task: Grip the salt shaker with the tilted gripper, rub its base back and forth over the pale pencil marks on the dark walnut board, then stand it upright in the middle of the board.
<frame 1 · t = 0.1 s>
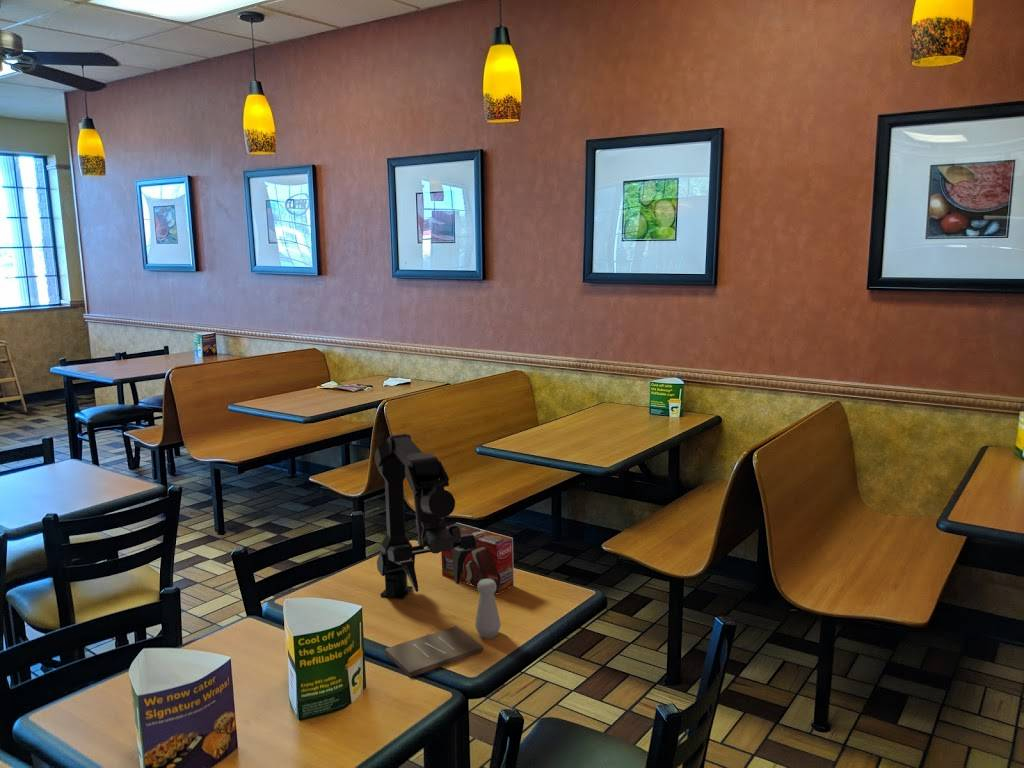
hand: (437, 587, 169), 15 cm above the table, tool pointing down, fingers open, 9 cm apart
ice cream box: (477, 581, 209), on the table
salt shaker: (488, 635, 179), on the table
marked board: (434, 652, 172), on the table
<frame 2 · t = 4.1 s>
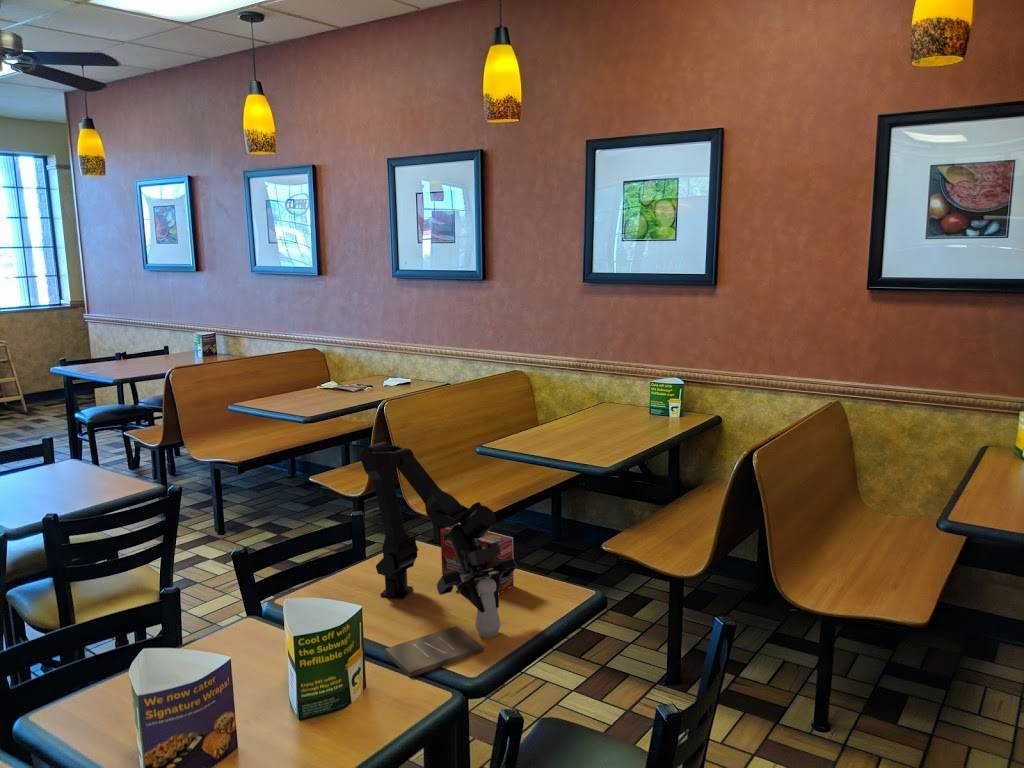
hand: (490, 609, 177), 7 cm above the table, tool tilted 45°, fingers closed on salt shaker, 3 cm apart
salt shaker: (488, 635, 179), on the table, touching gripper
everything else where it was.
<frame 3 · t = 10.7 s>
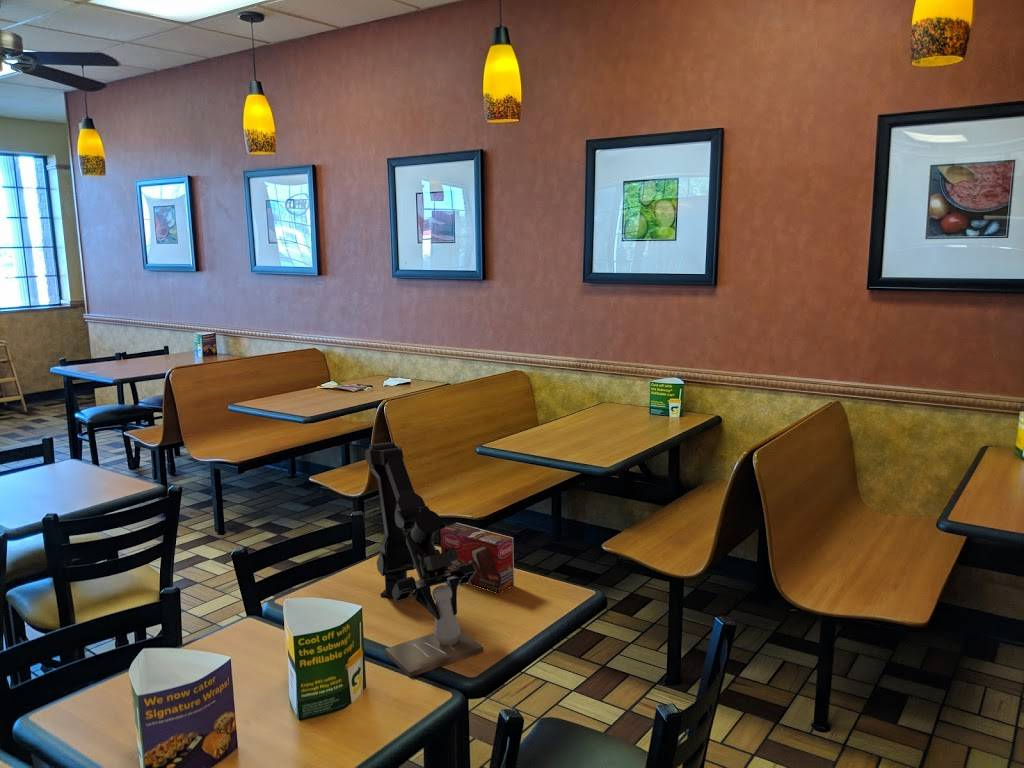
hand: (447, 616, 170), 8 cm above the table, tool tilted 45°, fingers open, 4 cm apart
salt shaker: (449, 642, 174), point 1 cm above the table, touching gripper, marked board
everything else where it was.
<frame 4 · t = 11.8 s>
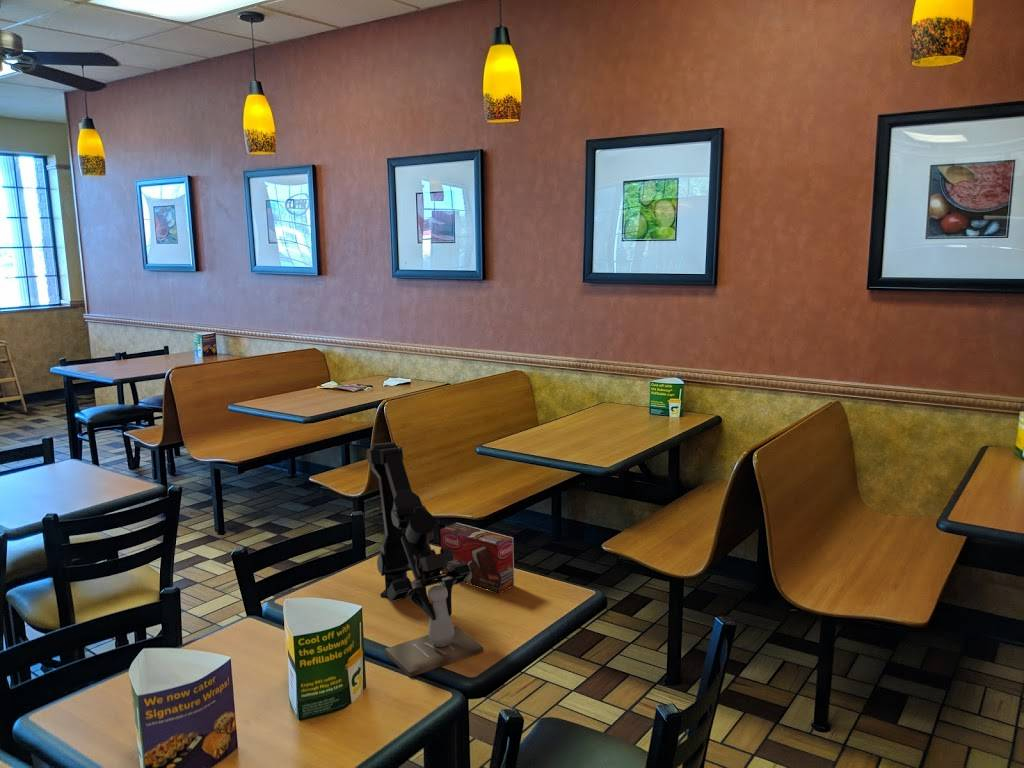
hand: (442, 617, 170), 8 cm above the table, tool tilted 45°, fingers closed on salt shaker, 3 cm apart
salt shaker: (442, 643, 173), point 1 cm above the table, touching gripper
everything else where it was.
when the fingers open (9 cm above the table, at t = 12.4 s): salt shaker stays where it is, resting on marked board.
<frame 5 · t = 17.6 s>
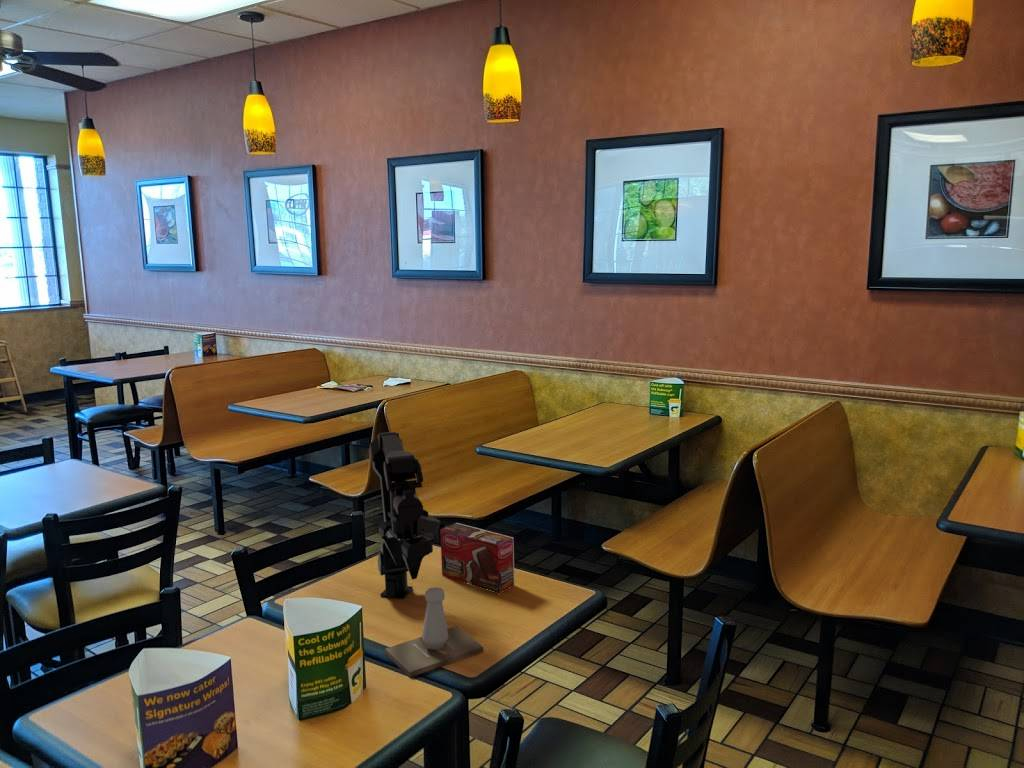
hand: (406, 572, 183), 13 cm above the table, tool pointing down, fingers open, 9 cm apart
salt shaker: (435, 646, 172), point 1 cm above the table, touching marked board
everything else where it was.
at the end: salt shaker inside the target area on the marked board (0.6 cm from its centre), point 1.1 cm above the marked board's base; salt shaker tilted 2°; the gripper is holding nothing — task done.
